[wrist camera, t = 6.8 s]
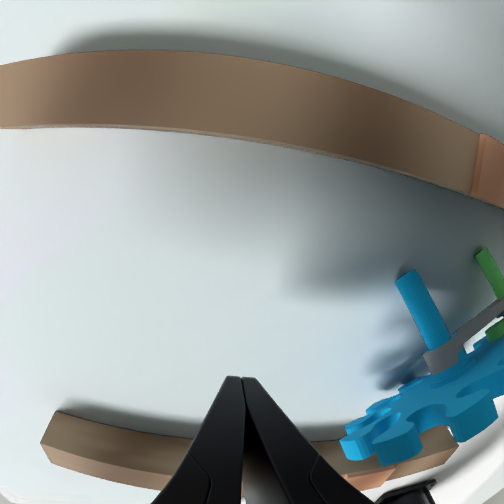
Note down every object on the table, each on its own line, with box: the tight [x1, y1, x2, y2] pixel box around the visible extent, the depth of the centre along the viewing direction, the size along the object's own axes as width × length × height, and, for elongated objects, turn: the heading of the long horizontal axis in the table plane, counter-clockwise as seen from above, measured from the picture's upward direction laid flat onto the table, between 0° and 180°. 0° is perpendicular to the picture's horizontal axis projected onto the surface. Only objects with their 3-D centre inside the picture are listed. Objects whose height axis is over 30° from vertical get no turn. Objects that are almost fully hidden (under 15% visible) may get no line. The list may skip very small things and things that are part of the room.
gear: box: [339, 248, 504, 466], centre depth 10 cm, size 11×6×10 cm
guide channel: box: [0, 50, 504, 497], centre depth 11 cm, size 24×18×3 cm
